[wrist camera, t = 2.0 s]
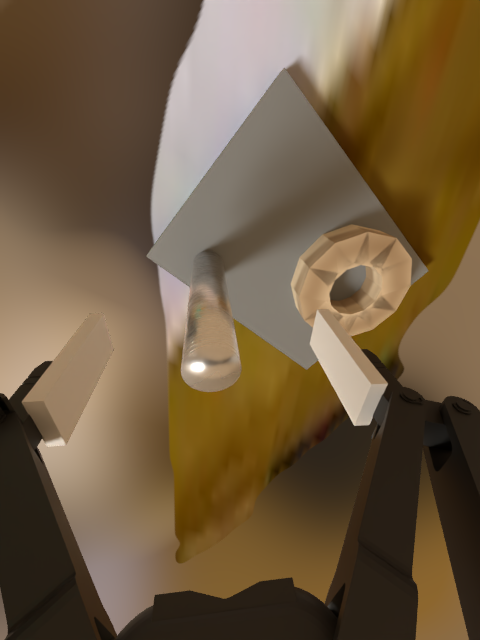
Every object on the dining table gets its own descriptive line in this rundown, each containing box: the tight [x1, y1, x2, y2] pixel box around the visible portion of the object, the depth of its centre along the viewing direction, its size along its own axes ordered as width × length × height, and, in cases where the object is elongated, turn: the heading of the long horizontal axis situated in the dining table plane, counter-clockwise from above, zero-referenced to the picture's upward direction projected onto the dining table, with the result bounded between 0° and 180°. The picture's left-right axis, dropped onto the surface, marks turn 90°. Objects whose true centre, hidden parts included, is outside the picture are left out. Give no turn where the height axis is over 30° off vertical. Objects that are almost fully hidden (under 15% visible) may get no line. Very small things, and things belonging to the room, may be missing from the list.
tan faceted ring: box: [291, 224, 412, 336], centre depth 27 cm, size 11×11×3 cm
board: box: [147, 68, 428, 370], centre depth 27 cm, size 24×18×2 cm
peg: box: [181, 251, 241, 392], centre depth 19 cm, size 3×3×15 cm
